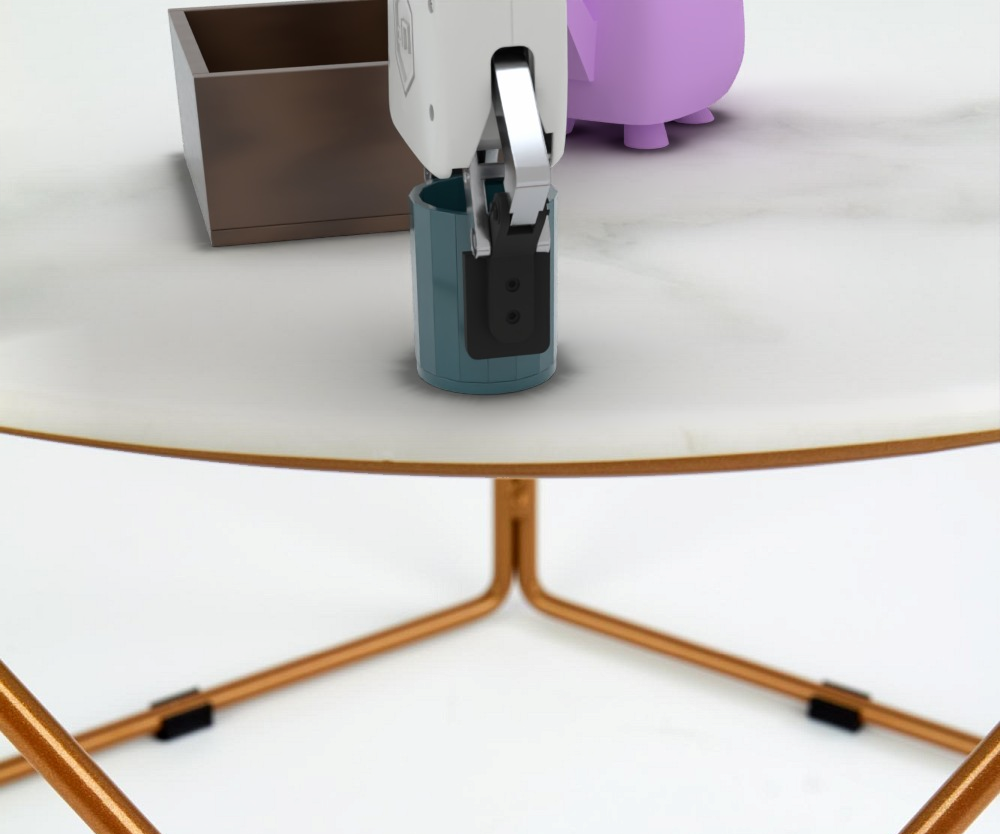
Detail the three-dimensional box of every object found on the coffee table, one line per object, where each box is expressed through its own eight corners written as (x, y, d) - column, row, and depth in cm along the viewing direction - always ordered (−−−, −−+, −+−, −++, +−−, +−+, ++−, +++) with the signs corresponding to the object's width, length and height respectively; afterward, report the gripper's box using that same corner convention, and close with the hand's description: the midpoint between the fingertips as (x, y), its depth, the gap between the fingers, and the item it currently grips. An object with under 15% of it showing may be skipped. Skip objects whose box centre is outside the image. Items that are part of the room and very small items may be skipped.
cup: (432, 401, 66) (425, 220, 62) (405, 350, 71) (397, 178, 67) (571, 386, 67) (573, 207, 63) (536, 337, 72) (536, 167, 68)
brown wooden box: (211, 247, 83) (193, 77, 78) (184, 157, 96) (167, 8, 92) (506, 222, 85) (504, 56, 81) (439, 138, 99) (434, -8, 94)
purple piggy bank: (603, 78, 110) (607, -143, 103) (784, 99, 105) (802, -133, 98) (439, 153, 96) (430, -98, 89) (639, 182, 91) (646, -83, 83)
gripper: (327, -209, 64) (357, 261, 74) (415, -157, 50) (436, 414, 60) (521, -216, 66) (524, 246, 76) (659, -168, 52) (641, 393, 62)
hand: (485, 317), depth 68 cm, fingers open, 6 cm apart
